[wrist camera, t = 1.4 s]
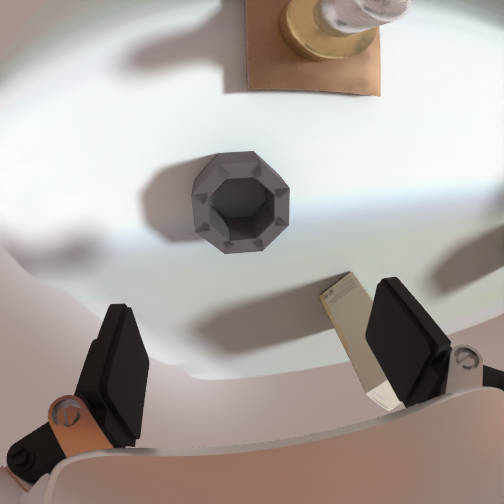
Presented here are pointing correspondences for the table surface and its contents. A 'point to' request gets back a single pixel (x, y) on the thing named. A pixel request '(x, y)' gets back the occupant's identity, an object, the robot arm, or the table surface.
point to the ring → (248, 228)
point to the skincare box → (358, 336)
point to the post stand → (317, 43)
